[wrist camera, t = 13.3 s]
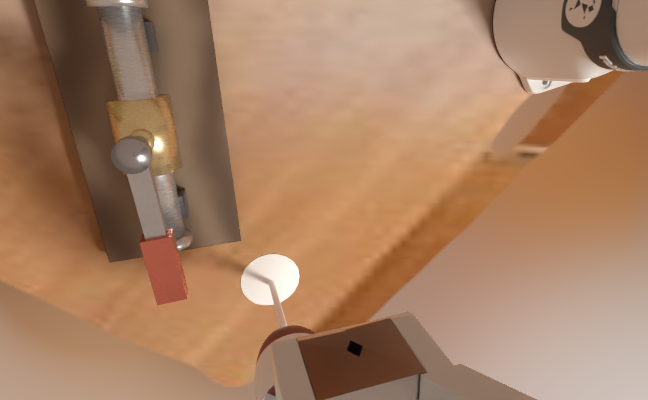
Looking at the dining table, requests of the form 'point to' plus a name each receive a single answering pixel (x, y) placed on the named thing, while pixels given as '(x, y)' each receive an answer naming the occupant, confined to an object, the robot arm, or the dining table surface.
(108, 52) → the pipe valve
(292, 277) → the wineglass
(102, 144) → the walnut board
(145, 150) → the valve lever
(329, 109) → the dining table surface
